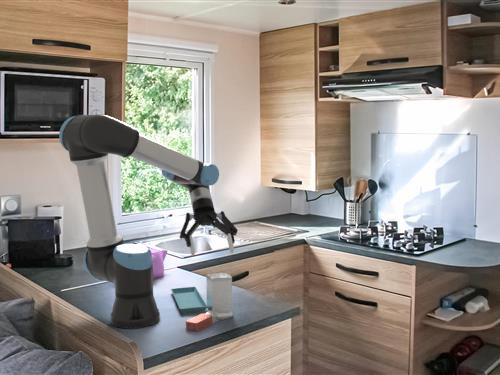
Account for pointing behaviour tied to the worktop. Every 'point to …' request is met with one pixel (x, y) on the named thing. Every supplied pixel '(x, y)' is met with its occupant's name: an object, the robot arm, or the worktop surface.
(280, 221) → the worktop surface
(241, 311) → the worktop surface
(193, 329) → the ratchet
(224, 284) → the tall white box
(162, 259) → the pink pitcher
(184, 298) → the teal serving tray
